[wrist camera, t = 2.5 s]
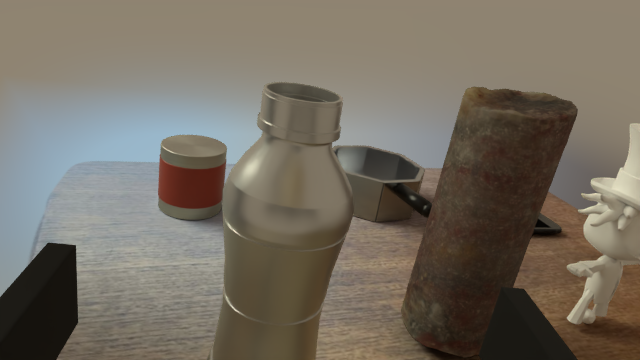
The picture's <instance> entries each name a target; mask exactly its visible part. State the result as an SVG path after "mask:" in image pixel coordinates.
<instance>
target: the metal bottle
mask: <svg viewBox="0 0 640 360" xmlns="http://www.w3.org/2000/svg"><path fill="white" fill-rule="evenodd" d="M342 105H343V103H342V97H341V96H340V95H338V94H336V93H334V92H332V91H329V90H326V89H323V88H319V87H314V86H310V85H304V84H297V83H287V82H286V83H285V82H274V83H268V84H266V85H265V86H264V89H263V93H262V104H261V112H260V113H259V114H258V120H257V125H258V127H259V128H260V129H261V130H262V131H263V133H262V136H261V138H260V139H259V140H258V141H257V142H256V143H255V144H254V145H253V146H252V147H251V148H250V149H249V150H247V151H246V152H245V154H244V155H243V156H242V157H241V158H240V160H239V161H238V162H237V163H236V165H235V166H234V167H233V168H232V170H231V172H230V174H229V176H228V178H227V181H226V183H225V185H224V188H223V201H222V211H223V229H224V249H225V264H224V287H223V302H222V307H221V311H220V316H219V321H218V325H217V330H216V335H215V339H214V344H213V345H212V348H211V350H210V353H209V356H208V359H207V360H315V358H316V348H317V338H318V329H319V319H320V315H321V311H322V307H323V301H324V299H325V296H326V293H327V289H328V285H329V281H330V277H331V274H332V271H333V268H334V266H335V263H336V260H337V258H338V255H339V253H340V250H341V247H342V245H343V242H344V240H345V237H346V234H347V232H348V230H349V227H350V223H351V220H352V216H353V213H354V204H353V194H352V188H351V185H350V183H349V181H348V178H347V176H346V174H345V171H344V169H343V167H342V165H341V164H340V162H339V160H338V158H337V156H336V154H335V153H334V151H333V149H332V142H334V141H336V140H338V139H339V137H340V131H341V127H340V125H339V123H340V117H341V111H342Z"/></svg>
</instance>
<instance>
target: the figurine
mask: <svg viewBox="0 0 640 360" xmlns="http://www.w3.org/2000/svg"><path fill="white" fill-rule="evenodd" d="M591 186H592V188H593V189H594V190H595V191H597V192H598V193H594V194H583V193H582V194H581V195H582V197H583V198H585V199H587V200H590V201H597V202H599V203H598V204H597V205H596V206H592V207H588V208H586V209H583V210H578V212H579V213H582V214H590V215H589V216H588V218H587V220H586V222H585V224H584V236H585V238H586V239H587V241H588V242H589V243H590V244H591V245H592V246H593V247H594V248H596V249H597V250H598V251H599V252H601V253H602V254H604V255H603V256H601V257H600V258H599V259H598V260H597V261H579V262H578V263H575V264H569V265H568V266H567V269H568V270H569V271H570V272H571V273H572V274H575V275H577V276H579V277H581V276H585V277H588V278H587V281H586V284H585V289H584V293H583V296H582V297H581V299H580V300H579V302H578V303H577V304H576V306H575V307H574V309H573V310H572V311H571V313H570V314H569V316H568V317H567V319H568V320H569V321H570V322H572V323H574V324H581V322H583V323H586V324H590V323H593V322H594V320H595V315H597V316H603V317H605V316H606V315H607V310H608V303H609V301H611V299H612V297H613V295H614V293H615V291H616V289H617V286H618V284H619V281H620V279H621V276H622V272H623V265H635V264H639V265H640V124H636V123H633V124H630V146H629V153H628V158H627V161H626V163H625V166H624V167H623V168H620V170H619V173H618V175H617V177H616V179H615V178H593V179H592V180H591ZM593 298H594V304H595V306H594V308H593V311H592V310H590V309H587V307H588V305H589V303H590V302H591V301H592V299H593Z"/></svg>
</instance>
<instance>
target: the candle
mask: <svg viewBox="0 0 640 360" xmlns="http://www.w3.org/2000/svg"><path fill="white" fill-rule="evenodd" d="M576 116H577V108H576V106H575V105H574V104H573V103H572V102H571V101H567V100H562V99H560V98H558V97H556V96H552V95H550V94H546V93H538V92H521V91H515V90H509V89H499V90H498V89H495V90H488V89H487V88H484V87H471V88H468V89H466V91H465V93H464V95H463V99H462V102H461V106H460V110H459V113H458V116H457V120H456V123H455V127H454V130H453V134H452V137H451V141H450V145H449V148H448V152H447V155H446V158H445V161H444V165H443V168H442V172H441V175H440V179H439V182H438V186H437V190H436V193H435V197H434V201H433V204H432V207H431V211H430V214H429V217H428V221H427V224H426V228H425V231H424V234H423V238H422V241H421V244H420V247H419V250H418V254H417V257H416V261H415V264H414V267H413V270H412V274H411V277H410V281H409V284H408V287H407V291H406V295H405V298H404V301H403V305H402V309H401V313H402V318H403V321H404V324H405V326H406V328H407V330H408V332H409V333H410V334H411V336H412V337H413V338H414V339H415V340H416V341H419V342H420V343H421V344H423V345H424V346H426V347H429V348H434V349H438V350H440V351H443V352H446V353H450V354H454V355H456V356H461V357H465V358H466V357H472V356H473V355H478V354H479V352H480V349H481V346H482V343H483V340H484V337H485V334H486V331H487V328H488V325H489V323H490V320H491V317H492V314H493V311H494V308H495V305H496V302H497V299H498V296H499V293H500V290H501V287H508V288H513V286H514V283H515V280H516V277H517V274H518V272H519V269H520V266H521V263H522V261H523V258H524V255H525V252H526V249H527V247H528V244H529V241H530V239H531V236H532V234H533V231H534V228H535V225H536V223H537V220H538V217H539V214H540V211H541V209H542V206H543V203H544V201H545V198H546V195H547V193H548V190H549V188H550V186H551V183H552V180H553V177H554V175H555V172H556V169H557V167H558V164H559V161H560V159H561V156H562V153H563V151H564V148H565V146H566V144H567V141H568V138H569V135H570V132H571V130H572V127H573V124H574V122H575V119H576Z"/></svg>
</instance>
